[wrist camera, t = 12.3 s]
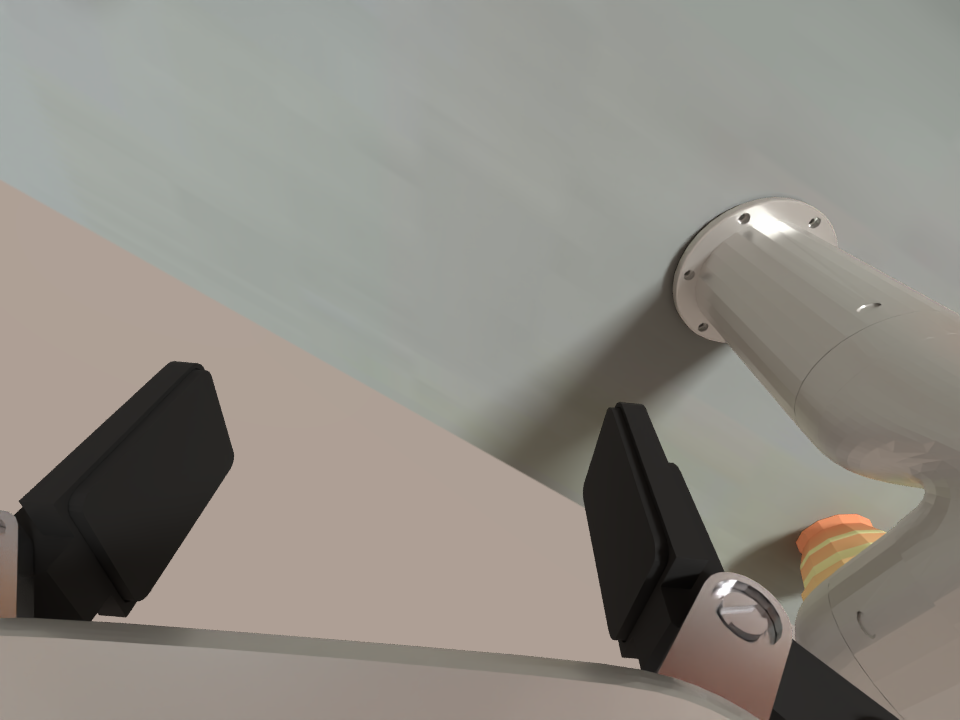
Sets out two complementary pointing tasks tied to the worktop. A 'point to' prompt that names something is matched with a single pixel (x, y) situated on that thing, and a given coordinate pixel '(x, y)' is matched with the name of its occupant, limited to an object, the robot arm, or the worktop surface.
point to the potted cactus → (832, 546)
